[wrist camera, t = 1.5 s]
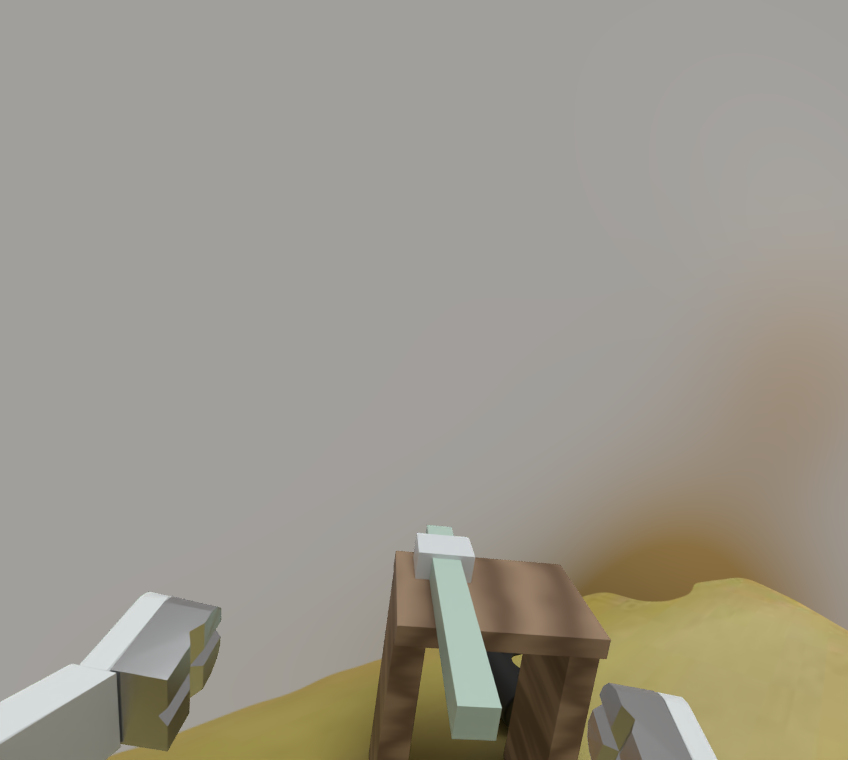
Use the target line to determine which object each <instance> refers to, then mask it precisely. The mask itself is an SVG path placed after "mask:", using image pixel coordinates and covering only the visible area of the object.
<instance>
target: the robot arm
mask: <svg viewBox="0 0 848 760" xmlns="http://www.w3.org/2000/svg"><path fill="white" fill-rule="evenodd" d="M220 621H221V608H219V607H216V606H211V605H207V604H203V603H198V602H194V601H190V600H185V599H181V598H177V597H172V596H167V595H162V594H157V593H152V592H147V593H145V594H144V595H142V596H141V597H139V598H138V600H136V602H135V603H134V604H133V605H132V606H131V607H130V608H129V610H128V611H127V612H126V613H125V614H124V615H123V616H122V617H121V618H120V620H119V621H118V622H117V623H116V624H115V625H114V626H113V627H112V629H111V630H110V631H109V632H108V633H107V634H106V636H105V637H104V638H103V639H102V640H101V641H100V642H99V643H98V644H97V645H96V647H95V648H94V649H93V650H92V651H91V652H90V653H89V654H88V656H87V657H86V658H85V659H84V660H83V661H82V662H81V663H80V665H77V664H70V665H68V666H66V667H64V668H62V669H60V670H59V671H57V672H55V673H53V674H51V675H49V676H48V677H45V678H44V679H42V680H40V681H38V682H36V683H34V684H32V685H31V686H29V687H27V688H25V689H23V690H21V691H19V692H18V693H16V694H14V695H12V696H10V697H8V698H6V699H5V700H3V701H1V702H0V760H106V759H107V758H108V757H109V756H111V755H112V754H113V753H114V752H115V751H117V750H118V749H119V748H120V744H125V745H131V746H137V747H144V748H150V749H156V750H162V751H168V750H169V748H170V746H171V744H172V743H173V741H174V739H175V737H176V735H177V734H178V732H179V730H180V728H181V727H182V725H183V723H184V721H185V720H186V718H187V716H188V714H189V706H190V697H192V696H193V695H195V694H196V693H198V692H199V691H200V690H202V689H203V687H204V685H205V683H206V682H207V680H208V678H209V676H210V674H211V672H212V669H213V667H214V664H215V662H216V659H217V656H218V651H219V647H220V635H219V634H218V632H217V631H216V628H217V626H218V625H219V623H220ZM600 698H601V701H602V705H600V706H599V707H597V708H595V709H593V711H592V713H591V716H590V719H589V721H588V736H587V738H588V745H589V752H590V756H591V759H592V760H717V758H716V756H715V754H714V752H713V750H712V748H711V746H710V744H709V743H708V741H707V739H706V737H705V735H704V733H703V731H702V729H701V727H700V725H699V724H698V722H697V720H696V718H695V716H694V714H693V712H692V710H691V708H690V706H689V705H688V703H687V702H686V701H685V700H684V699H683V698H682V697H678V696H673V695H668V694H663V693H658V692H654V691H651V690H645V689H639V688H634V687H628V686H623V685H617V684H612V683H608V684H606V685H605V686H603V688H602V691H601V693H600Z"/></svg>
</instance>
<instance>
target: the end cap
mask: <svg viewBox="0 0 848 760" xmlns="http://www.w3.org/2000/svg"><path fill="white" fill-rule="evenodd" d="M486 653H487V657H488V660H489V664H490V667H491V671H492V674H493V678H494V682H495V685H496V689H497V692H498V696H499V699H500V703H501V707H502V711H501V716H500V717H501V718H502V720H503V722H504V724H505V725H506V726H507V727H509V724H510V719H511V713H512V708H513V703H514V698H515V692H516V687H517V682H518V676H519V671H520V668H519V667H517V666H516V665H515V664H514V663H513V662H512V659H511V658H512V657H513V656H516V655H521V654H519V653H504V652H488V651H486Z"/></svg>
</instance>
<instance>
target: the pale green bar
mask: <svg viewBox="0 0 848 760" xmlns="http://www.w3.org/2000/svg"><path fill="white" fill-rule="evenodd" d="M413 559H414V570H415V579H427V580H429V581H430V588H431V595H432V602H433V609H434V616H435V624H436V631H437V638H438V645H439V652H440V659H441V666H442V673H443V680H444V687H445V694H446V701H447V708H448V715H449V723H450V730H451V737H452V739H467V740H490V741H496V738H497V732H498V727H499V721H500V716H501V711H502V707H501V703H500V699H499V696H498V692H497V689H496V685H495V682H494V678H493V674H492V671H491V667H490V664H489V660H488V657H487V653H486V649H485V646H484V642H483V639H482V635H481V631H480V628H479V624H478V621H477V617H476V614H475V610H474V606H473V603H472V599H471V596H470V592H469V589H468V585H467V583H471V579H472V573H473V567H474V561H475V555H474V552H473V549H472V547H471V543H470V541H469V538H468V537H459V536H454V535H453V531H452V528H451V527H442V526H432V525H427V529H426V534H425V533H417V535H416V542H415V549H414V556H413Z"/></svg>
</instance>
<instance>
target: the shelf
mask: <svg viewBox="0 0 848 760" xmlns="http://www.w3.org/2000/svg"><path fill="white" fill-rule="evenodd" d="M413 556H414V552H405V551H396V554H395V562H394V574H393V581H392V589H391V596H390V604H389V610H388V618H387V625H386V632H385V640H384V647H383V655H382V662H381V669H380V676H379V684H378V691H377V698H376V706H375V713H374V720H373V728H372V735H371V742H370V750H369V760H408V758H409V752H410V745H411V739H412V732H413V726H414V719H415V713H416V706H417V699H418V693H419V686H420V680H421V673H422V667H423V660H424V653H425V648H439V645H438V638H437V631H436V624H435V616H434V609H433V602H432V595H431V588H430V581H429V580H427V579H415V570H414V559H413ZM467 585H468V589H469V592H470V596H471V599H472V603H473V606H474V610H475V614H476V617H477V621H478V624H479V628H480V631H481V635H482V639H483V642H484V646H485V649H486V651H488V652H504V653H519V654H523V655H522V661H521V666H520V671H519V676H518V682H517V687H516V692H515V698H514V703H513V708H512V713H511V719H510V724H509V729H508V734H507V740H506V745H505V750H504V755H503V756H504V760H577V759H578V755H579V750H580V746H581V741H582V736H583V732H584V727H585V723H586V718H587V714H588V709H589V705H590V700H591V695H592V691H593V686H594V682H595V677H596V673H597V668H598V664H599V659H607V655H608V650H609V646H610V641H611V640H610V638H609V637H608V635H607V634H606V632H605V631H604V629H603V628H602V626H601V625H600V623H599V622H598V620H597V619H596V617H595V616H594V614H593V613H592V611H591V610H590V608H589V607H588V605H587V604H586V602H585V601H584V599H583V598H582V596H581V595H580V593H579V592H578V590H577V589H576V588H575V586H574V584H573V583H572V581H571V580H570V579H569V577H568V576H567V574H566V573H565V571H564V570H563V568H562V567H561V565H558V564H546V563H534V562H523V561H511V560H510V561H509V560H498V559H487V558H476V557H475V561H474V567H473V573H472V579H471V583H467Z"/></svg>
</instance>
